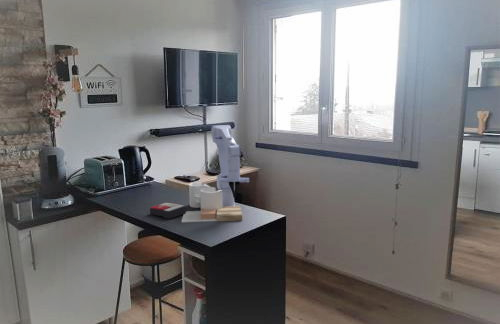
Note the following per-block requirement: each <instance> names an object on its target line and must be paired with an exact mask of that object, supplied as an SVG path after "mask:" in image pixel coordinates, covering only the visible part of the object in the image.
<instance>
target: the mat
mask: <svg viewBox="0 0 500 324" xmlns="http://www.w3.org/2000/svg"><path fill="white" fill-rule="evenodd" d="M182 215H183V216H182V219H181V223H182V224H183V223H184V224H186V223H204V222H205V223H208V222H211V223H212V222H218V221H217V214H216V219H201V210H193V211H190V210H189V211H188V210H186V213H185V214H182Z"/></svg>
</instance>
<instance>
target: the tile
mask: <svg viewBox="0 0 500 324" xmlns="http://www.w3.org/2000/svg"><path fill="white" fill-rule="evenodd" d="M200 211H201V219H216V209H203V208H201V207H200Z"/></svg>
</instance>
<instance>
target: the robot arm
mask: <svg viewBox="0 0 500 324" xmlns="http://www.w3.org/2000/svg"><path fill="white" fill-rule="evenodd" d="M210 131H211V132H210V133H211V139H212V142H213V143H215V145H216V148H217V153H218V160H219V161H218V162H219V167H220V169H219V170H220V173H219V174H218V175H217V176H216V187H217V188H216V189H217V190H222V206H236V203H235V198H237V192H238V190H239V187H240V184H241V183H250V177H241V159H240V158H241V156H242V147H241V145H240V144H237V142H236V141H235V139H234V137H232V136H231V135H232V127H231V125H230V124H223V125H221V124H219V125H212V126H211V129H210Z"/></svg>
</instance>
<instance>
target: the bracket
mask: <svg viewBox="0 0 500 324" xmlns="http://www.w3.org/2000/svg"><path fill="white" fill-rule="evenodd" d="M188 189H189V191H188V192H189V194H188V195H189V206H190V207H191V208H193V209H195V208H196V209H197V208H198V209H199V208H200V209H201V208H203V209H216V214H217V209H220V208H222V190H219V189H217V188H216V187H215V186H214V187H213V186H211V185H208V184H207V183H204V184H203V183H202V181H198V182H197V181H196V182H191V183H189V184H188Z"/></svg>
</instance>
